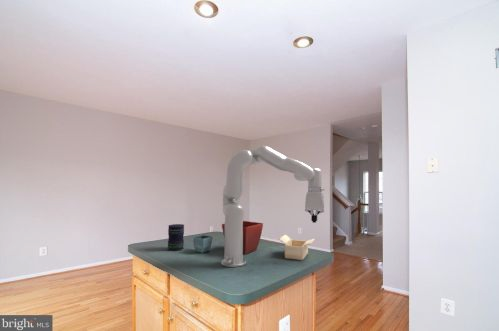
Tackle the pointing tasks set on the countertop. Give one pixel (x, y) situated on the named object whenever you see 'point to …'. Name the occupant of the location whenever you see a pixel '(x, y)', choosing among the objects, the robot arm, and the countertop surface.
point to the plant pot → (249, 235)
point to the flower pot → (202, 243)
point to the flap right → (308, 242)
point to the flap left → (284, 239)
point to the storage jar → (176, 237)
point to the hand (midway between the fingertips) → (314, 222)
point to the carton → (296, 249)
